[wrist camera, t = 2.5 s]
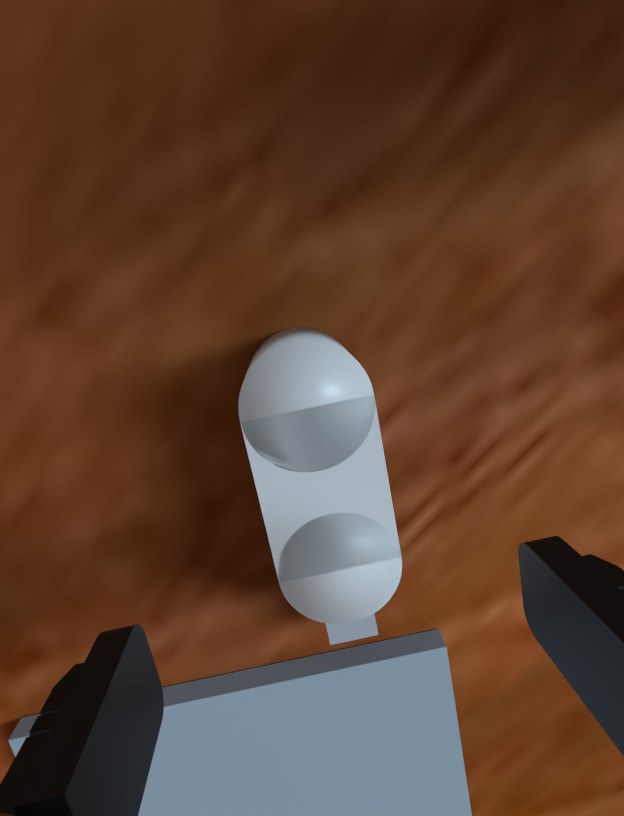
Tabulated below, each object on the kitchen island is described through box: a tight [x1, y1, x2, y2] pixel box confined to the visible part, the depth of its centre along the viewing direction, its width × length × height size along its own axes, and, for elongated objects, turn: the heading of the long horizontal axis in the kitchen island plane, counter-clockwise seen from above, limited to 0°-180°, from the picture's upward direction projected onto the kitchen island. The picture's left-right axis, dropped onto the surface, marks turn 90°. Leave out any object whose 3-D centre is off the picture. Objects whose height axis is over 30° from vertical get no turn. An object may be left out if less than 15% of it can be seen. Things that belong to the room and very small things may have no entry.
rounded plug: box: [238, 327, 402, 645], centre depth 19 cm, size 4×13×4 cm, turn 11°
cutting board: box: [8, 629, 472, 816], centre depth 25 cm, size 20×14×1 cm
